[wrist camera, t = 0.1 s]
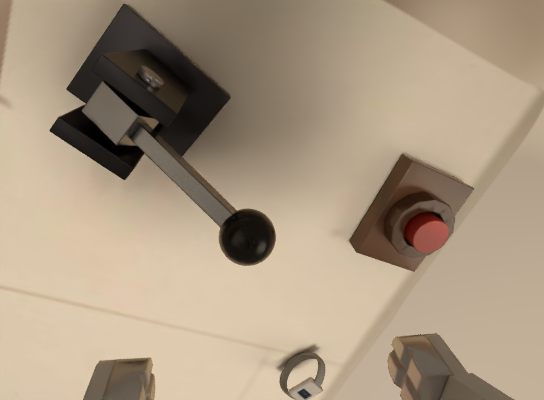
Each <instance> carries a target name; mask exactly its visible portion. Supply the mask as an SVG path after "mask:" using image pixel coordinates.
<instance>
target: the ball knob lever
mask: <svg viewBox="0 0 544 400" xmlns="http://www.w3.org/2000/svg"><path fill="white" fill-rule="evenodd" d="M82 113H83V114H84V115H85V116H86V117H87V118H88V119H89V120H90V121H91V122H92V123H94V124H95V125H96V126H97V127H98V128H99V129H100V130H101V131H102V132H103V133H104V134H105V135H106V136H107V137H108V138H109V139H110V140H111V141H112V142H113V143H114V144H115V145H117V146H138V147H139V148H140V149H141V150H142V151H143V152H144V153H145V154H146V155H147V156H148V157H149V158H150V159H151V160H152V161H153V162H154V163H155V164H156V165H157V166H158V167H159V168H160V169H161V170H162V171H163V172H164V173H165V174H166V175H167V176H168V177H169V178H170V179H171V180H172V181H174V182H175V183H176V184H177V185H178V186H179V187H180V188H181V189H182V190H183V191H184V192H185V193H186V194H187V195H188V196H189V197H190V198H191V199H192V200H193V201H194V202H195V203H196V204H197V205H198V206H199V207H200V208H201V209H202V210H203V211H204V212H205V213H206V214H207V215H208V216H209V217H210V218H211V219H212V220H213V221H214V222H216V223H217V224H218V225H219V226H220V227H221V228H220V231H219V244H220V247H221V250H222V251H223V253H224V254H225V256H226V257H227V258H228V259H229V260H231V261H232V262H234V263H236V264H238V265H242V266H251V265H256V264H258V263H260V262H262V261H264V260H265V259H266V258H267V257H268V256H269V255H270V254H271V252H272V250H273V248H274V245H275V241H276V233H275V228H274V226H273V224H272V222H271V221H270V219H269V218H268V217H267V216H266V215H265V214H263V213H262V212H260V211H257V210H254V209H241V210H238V211H237V210H236V209H235V208H234V207H233V206H232V205H231V204H230V203H229V202H228V201H227V200H226V199H225V198H223V197H222V196H221V195H220V194H219V193H218V192H217V191H216V190H215V189H214V188H213V187H212V186H211V185H210V184H209V183H208V182H207V181H206V180H205V179H204V178H203V177H202V176H201V175H200V174H199V173H198V172H197V171H196V170H195V169H194V168H193V167H192V166H191V165H190V164H189V163H187V162H186V161H185V160H184V159H183V158H182V157H181V156H180V155H179V154H178V153H177V152H176V151H175V150H174V149H173V148H172V147H171V146H170V145H169V144H168V143H167V142H166V141H165V140H164V139H163V138H162V137H161V136H160V135H159V134H158V133H157V132H156V131H155V130H154V128H155V127H156V125H157V124H158V123H159V122H158V121H157V120H156V119H154V118H153V117H152V116H150V115H149V114H148V113H147V112H145V111H144V110H143V109H141V108H140V107H139V106H137V105H136V104H135V103H133V102H132V101H131V100H129V99H128V98H127V97H126V96H124V95H123V94H122V93H120V92H119V91H118V90H116V89H115V88H114V87H112V86H111V85H110V84H109V83H107V82H106V81H102V82H101V83H100V85H99V86H98V88H97V89H96V90H95V92H94V93H93V95H92V96H91V98H90V99H89V100H88V102H87V103H86V105H85V106H84V108H83V109H82Z"/></svg>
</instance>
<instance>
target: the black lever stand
mask: <svg viewBox="0 0 544 400" xmlns="http://www.w3.org/2000/svg"><path fill="white" fill-rule="evenodd" d="M102 81H106V82H107V83H109V84H110V85H111V86H112V87H114V88H115V89H116V90H118V91H119V92H120V93H122V94H123V95H124V96H126V97H127V98H128V99H129V100H131V101H132V102H133V103H135V104H136V105H137V106H139V107H140V108H141V109H143V110H144V111H145V112H147V113H148V114H149V115H150V116H152V117H153V118H154V119H156V120H157V121H158V122H159V123H158V124H157V125H156V127H155V128H154V130H155V131H156V132H157V133H158V134H159V135H160V136H161V137H162V138H163V139H164V140H165V141H166V142H167V143H168V144H169V145H170V146H171V147H172V148H173V149H174V150H175V151H176V152H177V153H178V154H179V155H180V156H181V157H182V156H183V155H184V154H185V152H186V151H187V150H188V149H189V148H190V146H191V145H192V144H193V143H194V142H195V140H196V139H197V138H198V137H199V135H200V134H201V133H202V132H203V131H204V129H205V128H206V127H207V126H208V125H209V123H210V122H211V121H212V120H213V119H214V117H215V116H216V115H217V114H218V112H219V111H220V110H221V109H222V108H223V106H224V105H225V104H226V103H227V102H228V100H229V99H230V98H231V97H230V94H228V93H227V92H226V91H225V90H224V89H223V88H222V87H220V86H219V85H218V84H217V83H216V82H215V81H214V80H213V79H211V78H210V77H209V76H208V75H207V74H206V73H205V72H203V71H202V70H201V69H200V68H199V67H198V66H197V65H196V64H194V63H193V62H192V61H191V60H190V59H189V58H188V57H186V56H185V55H184V54H183V53H182V52H181V51H180V50H179V49H177V48H176V47H175V46H174V45H173V44H172V43H171V42H169V41H168V40H167V39H166V38H165V37H164V36H163V35H162V34H160V33H159V32H158V31H157V30H156V29H155V28H154V27H152V26H151V25H150V24H149V23H148V22H147V21H146V20H145V19H143V18H142V17H141V16H140V15H139V14H138V13H137V12H135V11H134V10H133V9H132V8H131V7H130V6H129V5H126V4H123V6H122V7H121V8H120V10H119V11H118V13H117V14H116V16H115V17H114V19H113V20H112V22H111V23H110V25H109V26H108V28H107V29H106V31H105V32H104V34H103V35H102V37H101V38H100V40H99V41H98V43H97V44H96V46H95V47H94V49H93V50H92V52H91V53H90V55H89V56H88V58H87V59H86V60H85V62H84V63H83V65H82V66H81V68H80V69H79V71H78V72H77V74H76V75H75V77H74V78H73V80H72V81H71V83H70V84H69V86H68V87H67V90H68V91H69V92H70V93H72V94H73V95H75V96H76V97H77V98H79V99H80V100H82V101H83V102H84V103H87V102H88V100H89V99H90V98H91V96H92V95H93V93H94V92H95V90H96V89H97V88H98V86H99V85H100V83H101V82H102ZM85 105H86V104H85ZM85 105H83V106H81V107H79V108H77V109H75V110H73V111H71V112H68V113H66V114H64V115H62V116H60V117H58V118H57V120H56V121H55V123H54V124H53V126H52V127H51V129H50V132H52V133H53V134H55V135H56V136H58V137H59V138H61V139H62V140H64V141H65V142H67V143H68V144H70V145H71V146H73V147H74V148H76V149H77V150H79V151H81V152H82V153H84V154H85V155H87V156H88V157H90V158H91V159H93V160H94V161H96V162H97V163H99V164H100V165H102V166H103V167H105V168H106V169H108V170H109V171H111V172H112V173H114V174H116V175H117V176H119V177H120V178H122V179H123V180H125V179H126V178H127V177H128V176H129V175H130V173H131V172H132V171H133V169H134V168H135V167H136V165H137V164H138V162H139V161H140V159H141V158H142V156H143V155H144V152H143V151H142V150H141V149H140V148H139V147H138V146H117V145H115V144H114V143H113V142H112V141H111V140H110V139H109V138H108V137H107V136H106V135H105V134H104V133H103V132H102V131H101V130H100V129H99V128H98V127H97V126H96V125H95V124H94V123H92V122H91V121H90V120H89V119H88V118H87V117H86V116H85V115H84V114H83V113H82V109H83V108H84V106H85Z"/></svg>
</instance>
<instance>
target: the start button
mask: <svg viewBox="0 0 544 400" xmlns="http://www.w3.org/2000/svg"><path fill="white" fill-rule="evenodd" d="M448 235H449V230H448V227H447V225H446V224H445V223H444V222H443V221H442V220H440V219H439V218H438V217H437V216H435V215H434V214H432V213H428V212H425V213H420V214H417V215H416V216H414V217H413V218H411V219H410V220H409V222H408V223H407V225H406V227H405V237H406V239H407V240H408V241H409V242H410V243H411V244H412V245H413V247H414V248H415V249H416V250H418V251H420V252H423V253H429V252H433V251H435V250H437V249H439V248H440V247H441V246H442V245H443V244H444V243H445V242H446V240H447V238H448Z"/></svg>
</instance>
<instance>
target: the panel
mask: <svg viewBox="0 0 544 400" xmlns="http://www.w3.org/2000/svg"><path fill="white" fill-rule="evenodd" d="M473 190H474V188H473V187H471V186H469V185H468V184H466V183H464V182H462V181H461V180H458V179H456V178H454V177H452V176H450V175H448V174H445V173H443V172H441V171H439V170H437V169H434V168H432V167H430V166H428V165H426V164H424V163H421V162H419V161H417V160H415V159H413V158H410V157H408V156H406V155H404V154H403V155H402V156H401V158H400V159H399V161H398V163H397V164H396V166H395V167H394V169H393V171H392V172H391V174H390V176H389V177H388V179H387V181H386V182H385V184H384V186H383V187H382V189H381V190H380V192H379V194H378V195H377V197H376V199H375V200H374V202H373V204H372V205H371V207H370V208H369V210H368V212H367V213H366V215H365V217H364V218H363V220H362V222H361V223H360V225H359V227H358V228H357V230H356V231H355V233H354V235H353V236H352V238H351V240H350V243H351V245H352V246H353V248H354V249H355V251H356V252H357V253H360V254H363V255H366V256H369V257H372V258H375V259H378V260H381V261H384V262H387V263H390V264H393V265H396V266H399V267H402V268H405V269H408V270H411V271H414V272H415V270H416V269H417V268H418V266H419V265H420V264H421V262H422V261H423V259H424V258H425V257H426V255H429V254H431V253H433V252H434V251H433V252H429V253H423V252H420V251H418V250H416V249H415V248H414V247H413V245H412V244H411V243H410V242H409V241H408V240H407V239H406V237H405V227H406V225H407V223H408V222H409V220H410V219H411V218H413V217H414V216H416V215H417V214H420V213H425V212H428V213H432V214H434V215H435V216H437V217H438V218H439V219H440V220H442V221H443V222H444V223H445V224H446V225H447V227H448V230H449V235H448V238H449V237H450V236H451V234H452V233H453V228H454V222H455V215H456V213H457V212H458V211H459V209H460V208H461V207H462V205H463V204H464V202H465V201H466V200H467V198H468V197H469V195H470V194H471V193H472V191H473ZM448 238H447V240H448ZM447 240H446V241H447ZM445 243H446V242H445ZM445 243H444V244H445ZM444 244H443V245H444ZM443 245H442V246H443ZM442 246H441V247H442ZM441 247H440V248H441ZM435 251H436V250H435Z"/></svg>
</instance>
